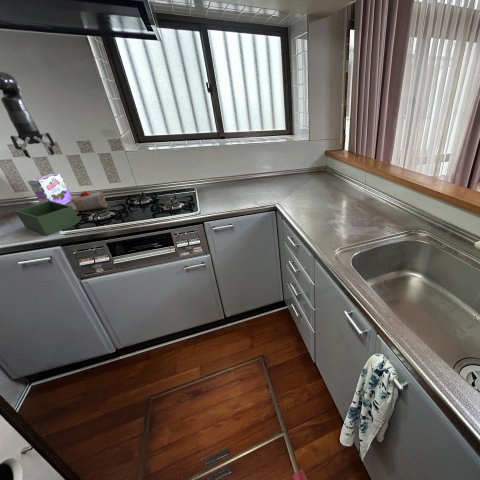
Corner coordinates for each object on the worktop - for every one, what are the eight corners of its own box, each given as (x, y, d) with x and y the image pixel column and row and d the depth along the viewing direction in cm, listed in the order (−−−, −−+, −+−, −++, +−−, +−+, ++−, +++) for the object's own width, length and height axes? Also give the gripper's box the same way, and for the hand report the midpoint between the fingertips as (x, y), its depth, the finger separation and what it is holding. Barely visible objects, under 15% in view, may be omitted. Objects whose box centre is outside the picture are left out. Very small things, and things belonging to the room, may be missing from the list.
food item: (75, 213, 142) (66, 196, 137) (79, 208, 148) (71, 191, 143) (106, 209, 147) (98, 192, 142) (108, 204, 153) (101, 187, 148)
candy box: (53, 209, 147) (37, 180, 138) (43, 209, 147) (26, 180, 139) (74, 200, 159) (60, 173, 150) (64, 200, 159) (50, 173, 150)
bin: (25, 227, 128) (14, 210, 124) (59, 216, 139) (50, 200, 134) (47, 235, 121) (36, 217, 116) (80, 223, 131) (72, 206, 127)
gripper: (42, 119, 133) (59, 153, 141) (1, 122, 124) (21, 157, 132) (43, 120, 128) (60, 155, 136) (1, 123, 119) (21, 160, 127)
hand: (41, 156), depth 134 cm, fingers open, 8 cm apart
